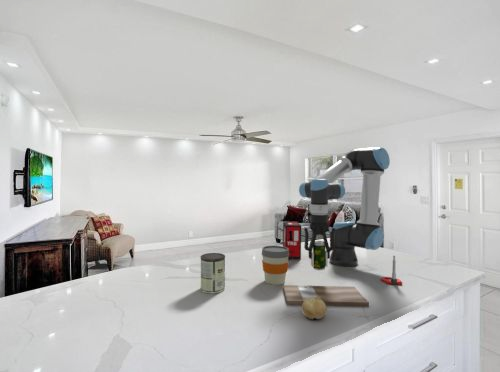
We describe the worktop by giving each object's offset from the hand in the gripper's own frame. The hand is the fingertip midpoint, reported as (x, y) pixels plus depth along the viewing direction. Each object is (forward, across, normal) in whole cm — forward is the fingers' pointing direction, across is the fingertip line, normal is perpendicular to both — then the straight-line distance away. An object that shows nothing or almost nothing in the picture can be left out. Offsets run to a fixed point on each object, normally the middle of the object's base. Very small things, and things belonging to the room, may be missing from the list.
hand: (319, 265), depth 129 cm
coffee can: (+8, -46, -8) cm, 48 cm away
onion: (+8, -8, -31) cm, 34 cm away
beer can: (+2, 0, 0) cm, 2 cm away
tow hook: (+9, +34, +6) cm, 36 cm away
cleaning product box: (+9, -6, +49) cm, 50 cm away
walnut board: (+8, -2, -14) cm, 17 cm away
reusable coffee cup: (+8, -20, +3) cm, 21 cm away
